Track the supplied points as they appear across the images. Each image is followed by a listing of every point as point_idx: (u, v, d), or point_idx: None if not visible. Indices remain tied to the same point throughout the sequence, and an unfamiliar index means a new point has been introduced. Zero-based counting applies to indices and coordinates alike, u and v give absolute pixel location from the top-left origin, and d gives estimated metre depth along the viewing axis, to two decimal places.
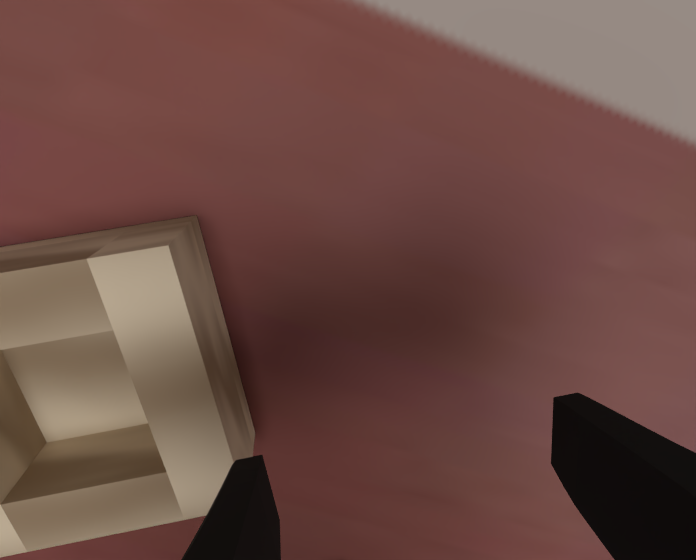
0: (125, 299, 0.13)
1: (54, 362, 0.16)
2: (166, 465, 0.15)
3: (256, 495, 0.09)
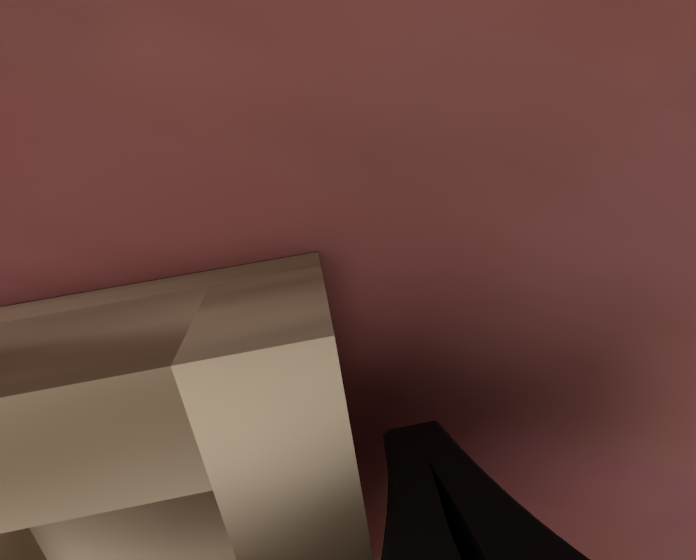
0: (240, 437, 0.06)
1: None
2: None
3: None
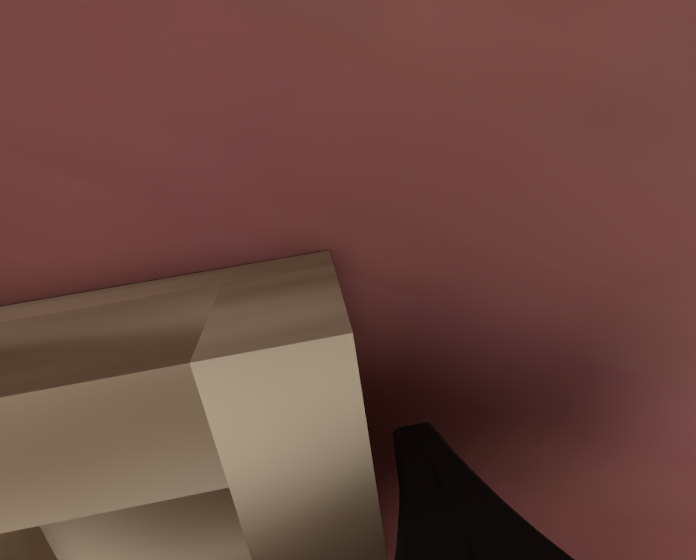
0: (257, 433, 0.07)
1: None
2: None
3: None
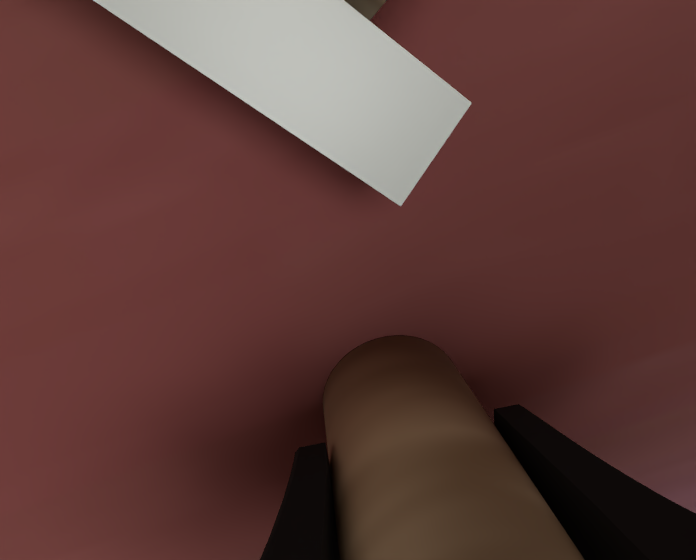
0: None
1: None
2: None
3: (327, 481, 0.09)
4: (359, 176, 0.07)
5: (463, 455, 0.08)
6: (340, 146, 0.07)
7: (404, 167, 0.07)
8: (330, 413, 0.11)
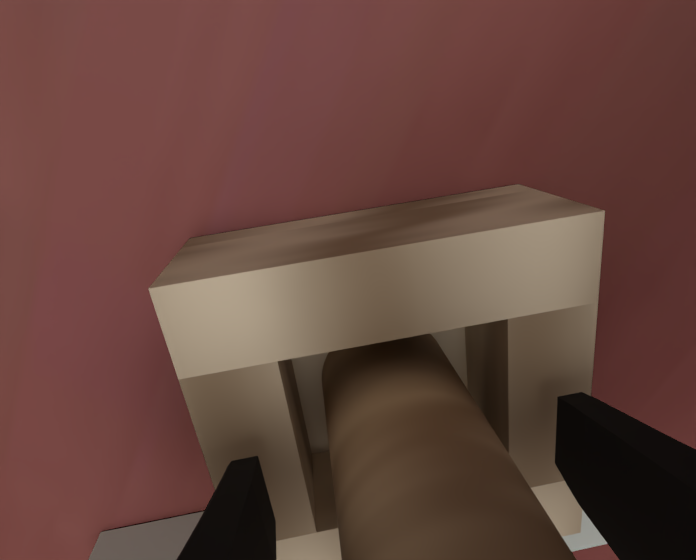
0: (232, 344, 0.10)
1: None
2: (496, 318, 0.10)
3: (251, 496, 0.09)
4: (589, 545, 0.15)
5: (430, 414, 0.09)
6: (575, 545, 0.15)
7: None
8: (326, 391, 0.12)
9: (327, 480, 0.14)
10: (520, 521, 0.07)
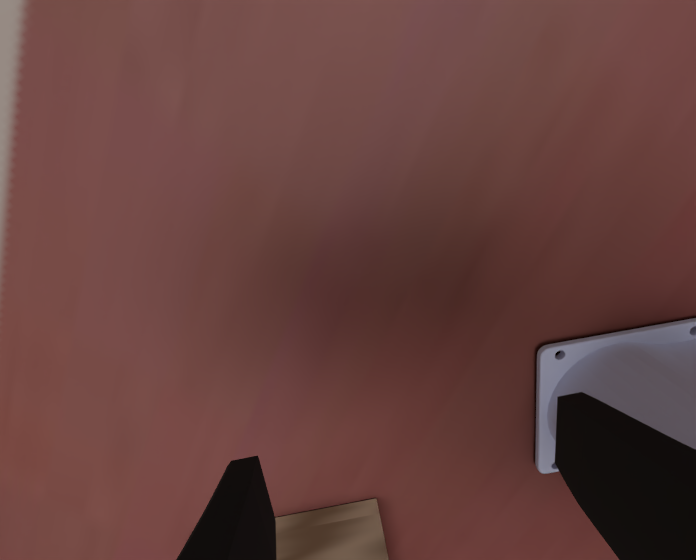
0: None
1: None
2: None
3: (251, 496, 0.09)
4: None
5: None
6: None
7: None
8: None
9: None
10: None
